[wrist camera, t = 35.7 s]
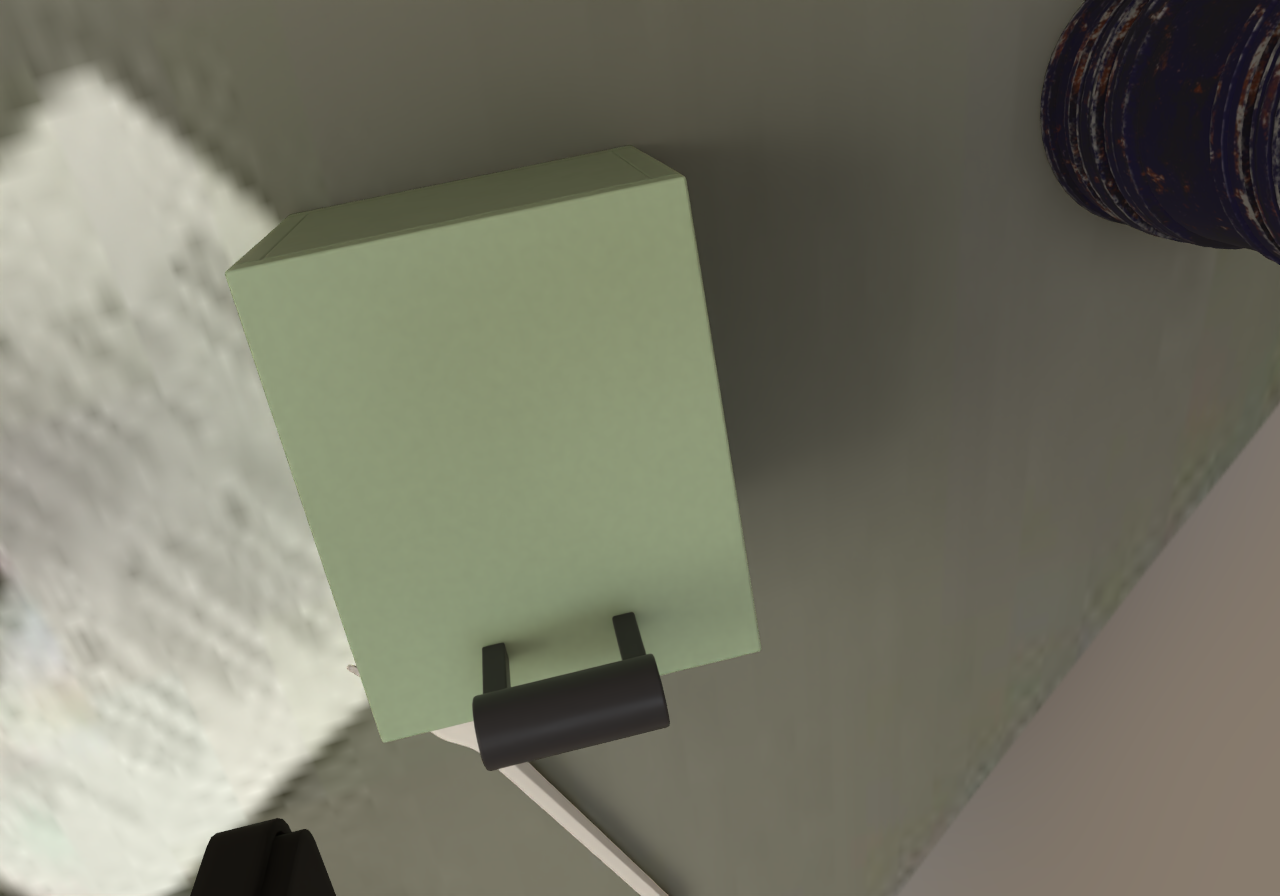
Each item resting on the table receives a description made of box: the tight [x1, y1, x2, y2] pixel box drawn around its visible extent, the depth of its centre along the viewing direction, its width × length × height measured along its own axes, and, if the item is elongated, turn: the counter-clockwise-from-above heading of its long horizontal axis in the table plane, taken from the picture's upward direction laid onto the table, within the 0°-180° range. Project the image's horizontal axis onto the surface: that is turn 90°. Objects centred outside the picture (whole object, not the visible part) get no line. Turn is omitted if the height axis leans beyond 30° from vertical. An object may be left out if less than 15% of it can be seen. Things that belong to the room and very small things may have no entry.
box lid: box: [225, 174, 761, 771], centre depth 28 cm, size 15×12×6 cm
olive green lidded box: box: [233, 145, 680, 266], centre depth 35 cm, size 14×12×9 cm
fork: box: [347, 665, 669, 896], centre depth 45 cm, size 3×20×2 cm, turn 38°
